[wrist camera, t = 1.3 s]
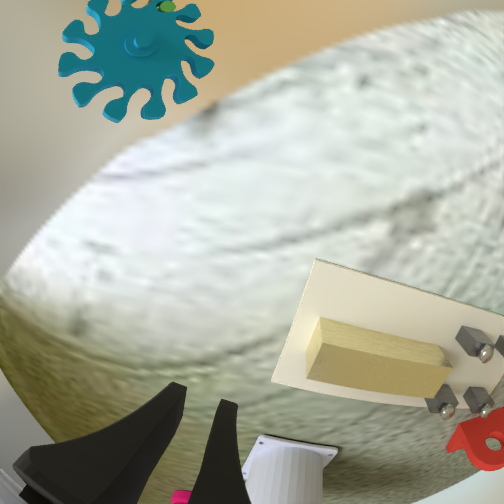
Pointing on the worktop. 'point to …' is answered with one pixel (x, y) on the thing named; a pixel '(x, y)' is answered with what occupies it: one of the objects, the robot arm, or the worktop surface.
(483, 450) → the bracket
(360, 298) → the mat
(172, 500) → the pepper mill
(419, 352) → the sanding block
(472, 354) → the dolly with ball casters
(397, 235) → the worktop surface
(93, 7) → the gear
